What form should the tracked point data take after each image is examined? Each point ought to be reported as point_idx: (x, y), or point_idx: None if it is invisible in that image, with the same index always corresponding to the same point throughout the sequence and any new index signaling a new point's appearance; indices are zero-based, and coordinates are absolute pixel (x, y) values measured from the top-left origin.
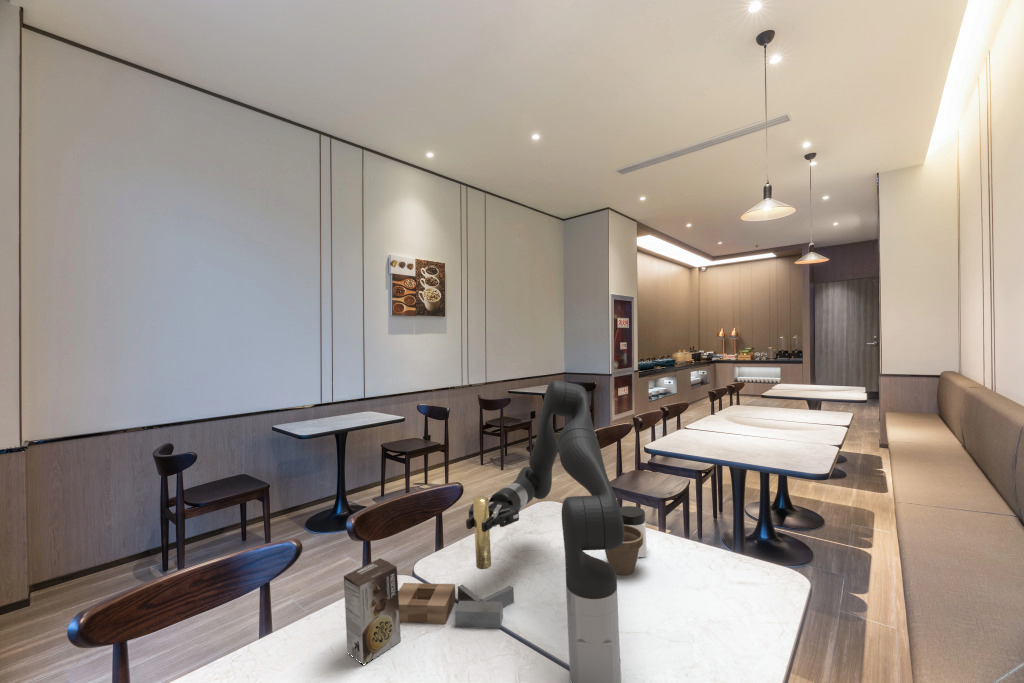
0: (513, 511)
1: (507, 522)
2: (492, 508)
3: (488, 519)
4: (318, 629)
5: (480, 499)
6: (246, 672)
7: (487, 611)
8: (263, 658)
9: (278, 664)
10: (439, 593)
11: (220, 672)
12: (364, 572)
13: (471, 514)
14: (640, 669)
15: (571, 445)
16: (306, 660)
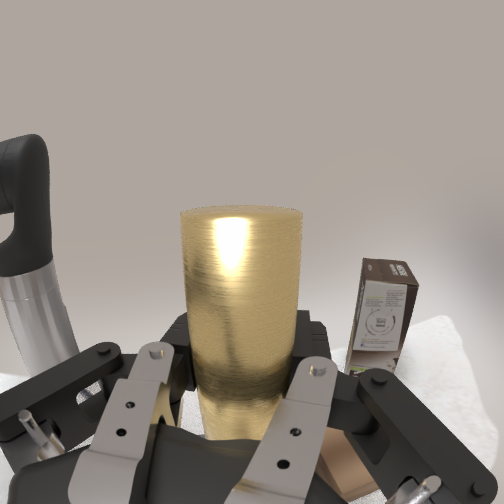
0: (15, 396)
1: (84, 408)
2: (204, 482)
3: (186, 325)
4: (452, 364)
5: (237, 209)
6: (429, 320)
7: (204, 436)
8: (439, 330)
9: (421, 331)
10: (350, 450)
11: (443, 315)
12: (389, 265)
13: (353, 378)
14: (11, 379)
15: None
16: (407, 341)
